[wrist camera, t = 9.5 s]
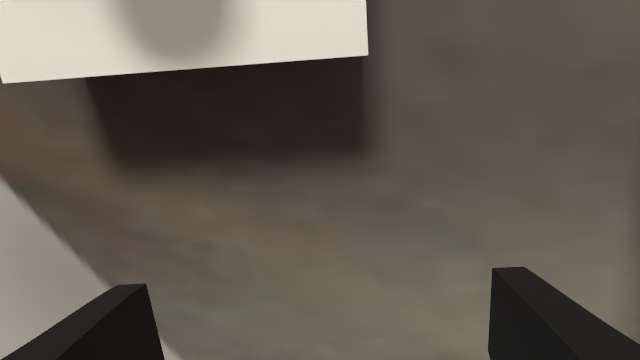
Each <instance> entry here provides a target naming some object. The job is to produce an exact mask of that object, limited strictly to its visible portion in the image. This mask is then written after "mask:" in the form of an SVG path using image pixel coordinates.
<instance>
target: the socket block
mask: <svg viewBox="0 0 640 360" xmlns="http://www.w3.org/2000/svg"><path fill="white" fill-rule="evenodd" d="M366 55H368V38H367V15H366V0H0V76H1V79H2V82H3V83H15V82H28V81H41V80H54V79H67V78H80V77H93V76H106V75H119V74H132V73H145V72H158V71H171V70H184V69H197V68H210V67H223V66H236V65H249V64H262V63H275V62H288V61H301V60H314V59H327V58H340V57H353V56H366Z"/></svg>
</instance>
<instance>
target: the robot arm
mask: <svg viewBox="0 0 640 360" xmlns="http://www.w3.org/2000/svg"><path fill="white" fill-rule="evenodd" d="M488 352H489V355H490V359H491V360H640V344H638V343H636V342H635V341H633V340H631V339H630V338H628V337H627V336H625V335H624V334H622V333H621V332H619V331H617V330H616V329H614V328H613V327H611V326H610V325H608V324H607V323H605V322H604V321H602V320H601V319H599V318H598V317H596V316H595V315H593V314H592V313H590V312H589V311H587V310H586V309H584V308H583V307H581V306H580V305H579V304H577V303H576V302H574V301H573V300H571V299H570V298H569V297H567V296H566V295H564V294H563V293H561V292H560V291H559V290H557V289H556V288H554V287H553V286H551V285H550V284H549V283H547V282H546V281H544V280H543V279H541V278H540V277H539V276H537V275H536V274H534V273H533V272H531V271H530V270H528V269H526V268H525V267H507V268H492V286H491V304H490V323H489V342H488ZM1 360H165V359H164V355H163V351H162V347H161V343H160V339H159V335H158V331H157V327H156V323H155V319H154V315H153V311H152V306H151V302H150V298H149V294H148V290H147V286H146V284H127V285H117V286H115V287H114V288H112V289H110V290H108V291H106V292H105V293H103V294H102V295H100V296H98V297H97V298H95V299H93V300H92V301H90V302H89V303H87V304H86V305H84V306H83V307H81V308H80V309H78V310H77V311H75V312H74V313H72V314H71V315H69V316H68V317H66V318H65V319H63V320H62V321H60V322H59V323H57V324H56V325H54V326H53V327H51V328H50V329H48V330H47V331H45V332H44V333H42V334H41V335H39V336H38V337H36V338H35V339H33V340H31V341H30V342H28V343H27V344H25V345H24V346H22V347H20V348H19V349H17V350H16V351H14V352H12V353H11V354H9V355H8V356H6V357H5V358H3V359H1Z"/></svg>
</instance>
